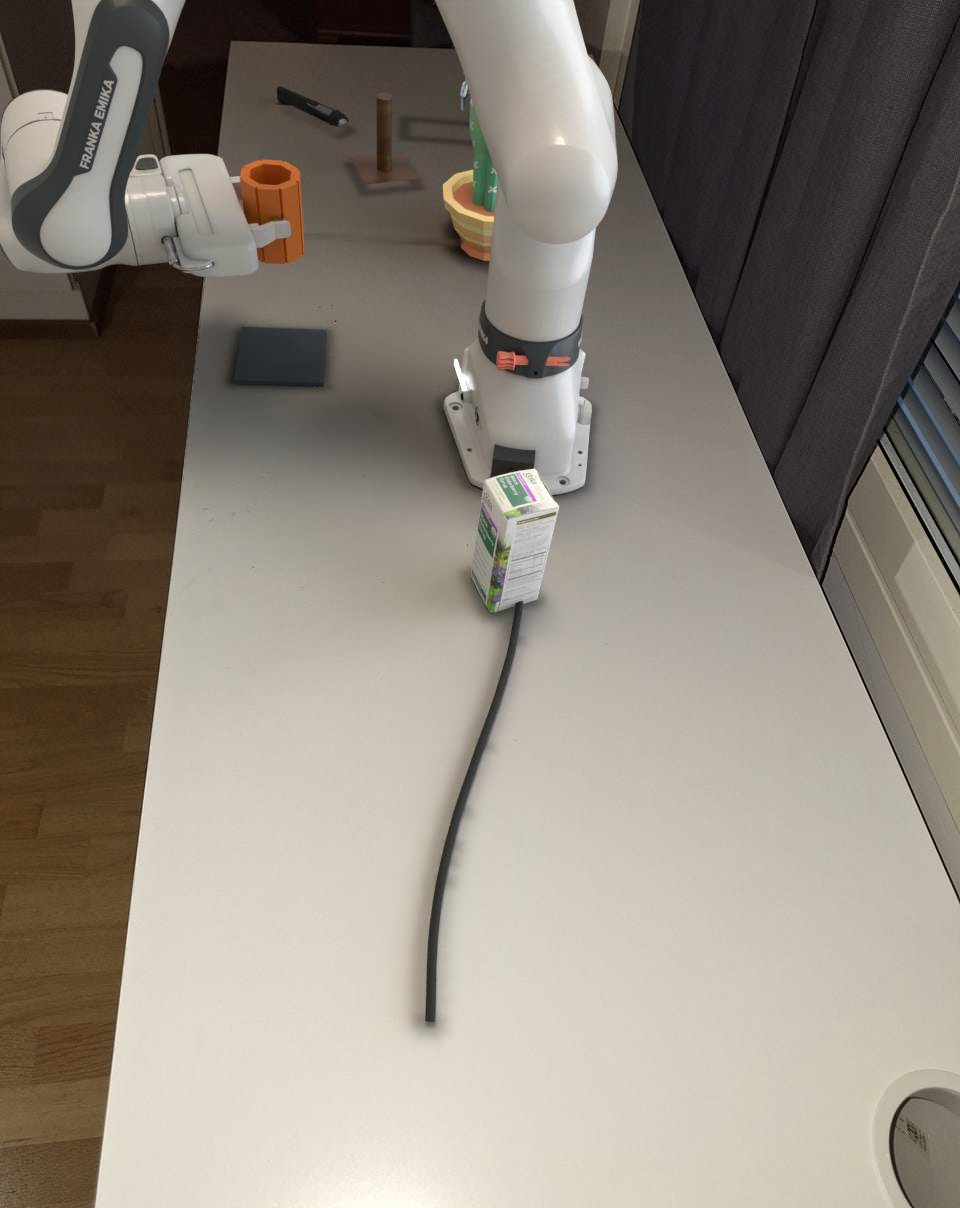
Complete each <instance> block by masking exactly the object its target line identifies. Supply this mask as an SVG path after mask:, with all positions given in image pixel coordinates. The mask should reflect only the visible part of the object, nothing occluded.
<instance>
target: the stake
mask: <svg viewBox="0 0 960 1208" xmlns="http://www.w3.org/2000/svg"><path fill="white" fill-rule="evenodd" d="M375 97H376V104H375V105H376V106H375V107H376V154H366V155H365V154H364V155H355V156H349V158H350V160H351V162H352V164H353V165H354V168H355V169H356V171H357V172H358V175H359V176H360V178H361V179H362V182H363V184H364V185H374V184H383V183H394V182H403V181H404V182H405V181H414V180H415V181H416V180H419V179H420V178H419V176H418V175H417V173H416V171H415V170H414V168H413V167H412V165H411V164H410V162H409V161H408V159H407V157H406V156H405V154H404V153H403V151H399V152H393V95H392V94H391V93H389V92H379V93H377V94H376V96H375Z"/></svg>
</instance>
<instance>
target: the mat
mask: <svg viewBox="0 0 960 1208" xmlns="http://www.w3.org/2000/svg"><path fill="white" fill-rule="evenodd" d="M327 336H328V330H327V329H318V328H317V329H316V328H293V327H292V328H291V327H290V328H289V327H288V328H287V327H285V328H284V327H263V326H262V327H259V326H242V327H241V333H240V338H239V344H238V350H237V351H238V352H237V357H236V358H237V359H236V363H235V368H234V369H235V371H234V376H233V383H234V384H235V385H236V384H238V385H274V386H278V385H279V386H308V387H324V381H325V366H326V354H327V353H326V351H327Z"/></svg>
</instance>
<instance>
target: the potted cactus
mask: <svg viewBox="0 0 960 1208" xmlns="http://www.w3.org/2000/svg"><path fill="white" fill-rule="evenodd" d="M459 96H460V111H462V112H463V111H464V110H465V108H466V105H467V101H468V100H469V98H470V100H469V135H470V139H471V144H472V148H473V169H469V170H465V171H462V172H457V173H455V174H453V175H452V176H451V177H450V178H448V180H446V181H445V182H444V183H443V184H442V196H443V204H444V209H445V210H446V211H447V212H448V213H449V214H450V218H451V222H452V225H453V228H454V231H456V233H457V235H458V236H459V237H460V239H459V240H460V248H461V250H463V251H464V252H465V254H467V255H468V256H469V257H471V258H474V259H478V260H481V261H482V262H484V261H485V262H490V252H491V242H492V233H493V223H494V213H495V203H496V193H497V183H498V176H497V173H496V170H495V168H494V165H493V162H492V159H491V156H490V154H489V151H488V148H487V145H486V142H485V139H484V136H483V133H482V130H481V127H480V124H479V121H478V118H477V115H476V112H475V109H474V105H473V102H472V99H471V96H470V92H469V89H468V86H467V82H466V79H465V78H464V81H463V82H462V85H461V88H460V93H459Z"/></svg>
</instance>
